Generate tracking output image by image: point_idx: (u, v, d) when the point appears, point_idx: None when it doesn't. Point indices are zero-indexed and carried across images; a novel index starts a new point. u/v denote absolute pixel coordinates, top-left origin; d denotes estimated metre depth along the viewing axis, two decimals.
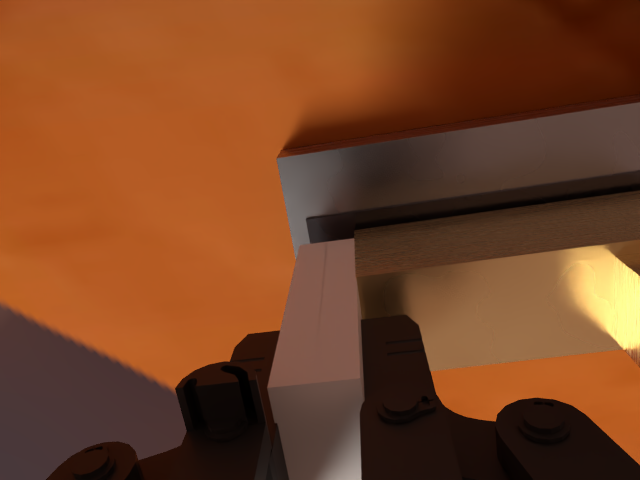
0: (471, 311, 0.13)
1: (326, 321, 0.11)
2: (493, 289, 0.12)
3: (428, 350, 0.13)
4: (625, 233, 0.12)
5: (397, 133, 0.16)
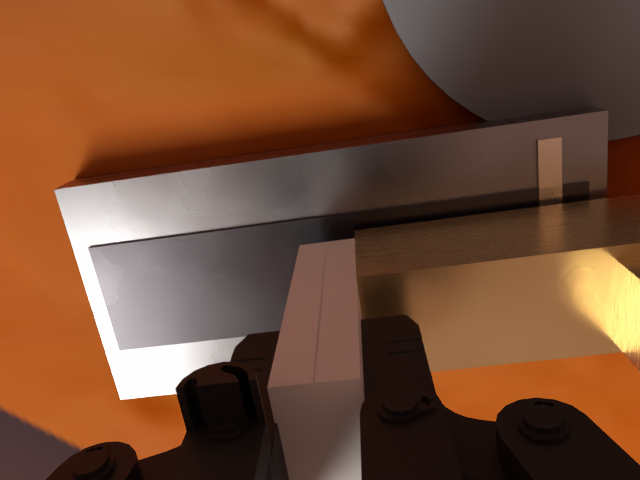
0: (471, 312, 0.13)
1: (326, 321, 0.11)
2: (493, 291, 0.12)
3: (428, 351, 0.13)
4: (625, 237, 0.12)
5: (179, 165, 0.17)
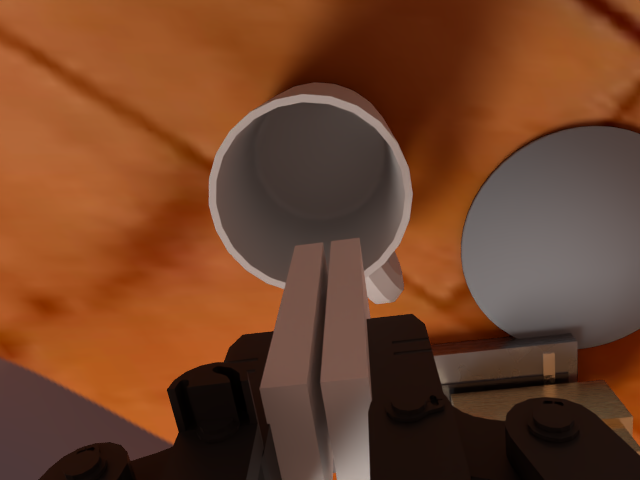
0: None
1: (332, 320, 0.11)
2: None
3: None
4: None
5: None
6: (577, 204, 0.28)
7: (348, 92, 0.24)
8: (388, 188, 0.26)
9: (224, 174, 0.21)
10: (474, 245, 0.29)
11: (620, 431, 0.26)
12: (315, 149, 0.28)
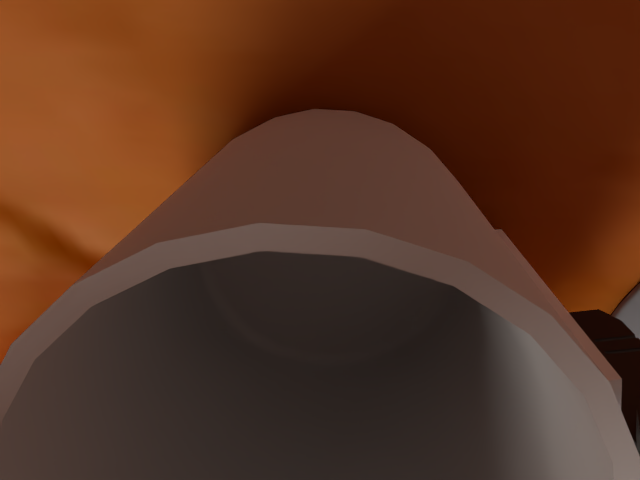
0: None
1: None
2: None
3: None
4: None
5: None
6: None
7: (393, 145, 0.10)
8: (478, 345, 0.12)
9: (57, 409, 0.07)
10: None
11: None
12: None
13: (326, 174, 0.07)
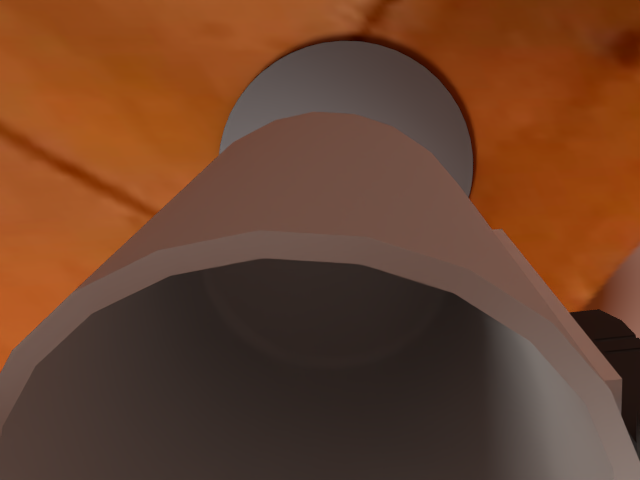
0: None
1: None
2: None
3: None
4: None
5: None
6: None
7: (394, 148, 0.10)
8: (479, 348, 0.12)
9: (57, 414, 0.07)
10: None
11: None
12: None
13: (326, 179, 0.07)
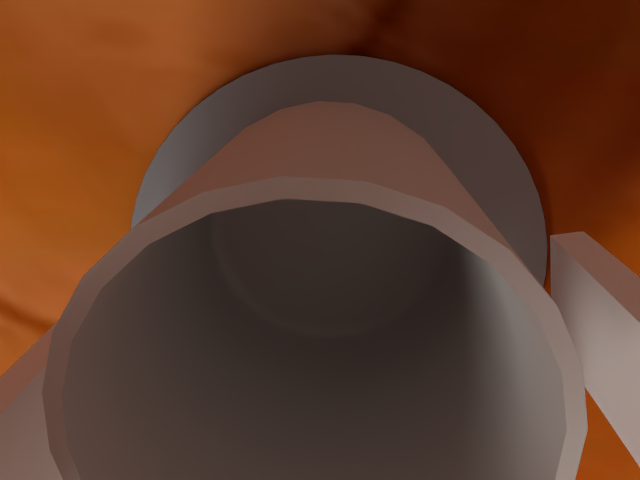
0: None
1: None
2: None
3: None
4: None
5: None
6: None
7: (389, 129, 0.11)
8: (465, 310, 0.13)
9: (104, 347, 0.09)
10: None
11: None
12: (321, 219, 0.16)
13: (332, 147, 0.08)
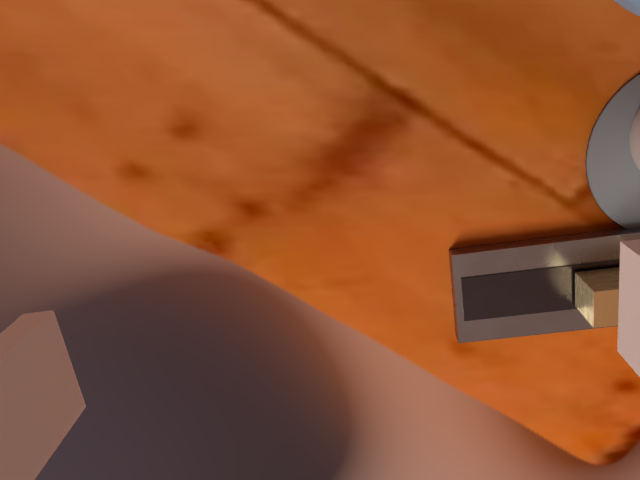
0: None
1: None
2: None
3: (615, 318, 0.37)
4: None
5: (497, 244, 0.40)
6: None
7: None
8: None
9: None
10: (597, 152, 0.38)
11: None
12: None
13: None
